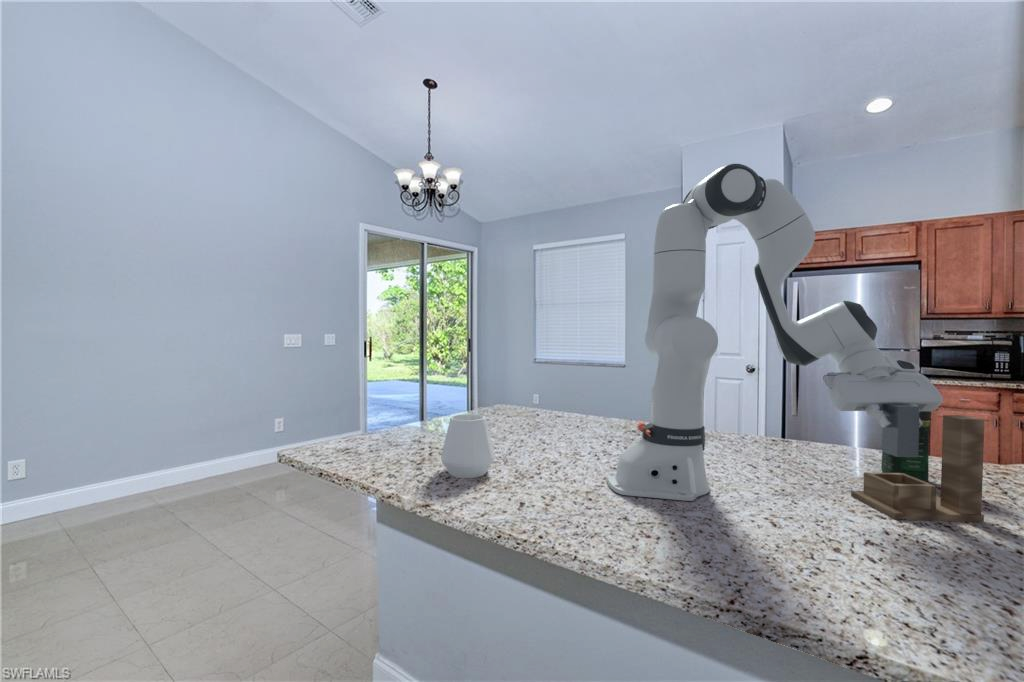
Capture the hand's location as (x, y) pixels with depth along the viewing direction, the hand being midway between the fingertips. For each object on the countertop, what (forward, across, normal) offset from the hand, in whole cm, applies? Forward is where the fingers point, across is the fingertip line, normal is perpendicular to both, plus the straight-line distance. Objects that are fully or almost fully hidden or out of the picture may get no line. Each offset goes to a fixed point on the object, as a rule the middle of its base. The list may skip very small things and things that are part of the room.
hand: (903, 426), depth 91 cm
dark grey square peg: (+4, 0, +5) cm, 6 cm away
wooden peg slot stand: (+12, +2, +12) cm, 17 cm away
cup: (-1, -91, +23) cm, 94 cm away
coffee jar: (-2, +15, +26) cm, 30 cm away
